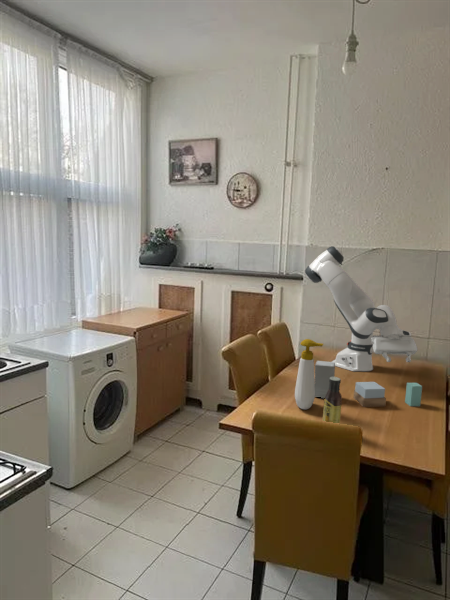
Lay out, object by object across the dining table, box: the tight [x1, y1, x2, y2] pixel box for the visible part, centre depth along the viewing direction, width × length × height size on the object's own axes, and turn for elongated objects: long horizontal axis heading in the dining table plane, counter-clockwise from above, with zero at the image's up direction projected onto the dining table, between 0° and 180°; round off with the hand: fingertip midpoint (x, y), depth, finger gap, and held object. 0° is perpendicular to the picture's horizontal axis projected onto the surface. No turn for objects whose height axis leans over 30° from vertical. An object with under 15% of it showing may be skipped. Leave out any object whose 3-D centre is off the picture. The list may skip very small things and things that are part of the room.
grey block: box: [354, 381, 386, 398], centre depth 190 cm, size 9×9×4 cm
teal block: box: [404, 382, 423, 407], centre depth 190 cm, size 4×4×9 cm
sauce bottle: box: [322, 376, 342, 423], centre depth 161 cm, size 7×6×20 cm
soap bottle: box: [294, 338, 324, 410], centre depth 181 cm, size 13×10×29 cm
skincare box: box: [314, 360, 336, 399], centre depth 195 cm, size 8×7×16 cm
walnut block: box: [353, 389, 387, 408], centre depth 191 cm, size 10×10×4 cm
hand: (399, 361), depth 200 cm, fingers open, 8 cm apart
